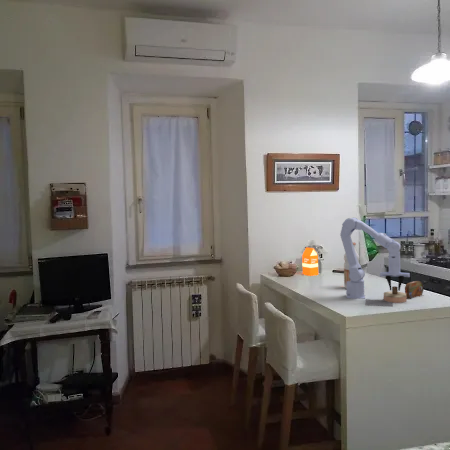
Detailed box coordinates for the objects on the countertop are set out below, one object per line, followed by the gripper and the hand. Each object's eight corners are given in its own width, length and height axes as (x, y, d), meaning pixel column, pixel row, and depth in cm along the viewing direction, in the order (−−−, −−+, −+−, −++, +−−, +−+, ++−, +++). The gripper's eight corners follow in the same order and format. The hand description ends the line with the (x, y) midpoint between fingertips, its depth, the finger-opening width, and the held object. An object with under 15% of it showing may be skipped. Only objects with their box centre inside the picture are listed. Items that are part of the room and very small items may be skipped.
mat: (365, 305, 204) (365, 305, 204) (365, 300, 217) (365, 299, 216) (392, 307, 200) (392, 306, 200) (392, 301, 212) (392, 300, 212)
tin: (409, 299, 214) (409, 284, 213) (403, 298, 216) (403, 283, 216) (424, 295, 223) (423, 280, 222) (418, 294, 225) (418, 279, 225)
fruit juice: (341, 288, 248) (340, 242, 247) (351, 286, 254) (350, 241, 252) (353, 290, 241) (352, 243, 239) (363, 288, 246) (362, 242, 244)
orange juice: (310, 275, 294) (309, 248, 293) (302, 274, 301) (301, 247, 301) (318, 274, 298) (317, 247, 297) (310, 273, 305) (309, 246, 304)
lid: (383, 296, 209) (383, 288, 209) (383, 292, 220) (383, 284, 219) (406, 298, 205) (406, 289, 205) (406, 293, 215) (405, 285, 215)
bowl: (384, 302, 210) (383, 296, 209) (383, 297, 220) (383, 292, 220) (407, 303, 206) (407, 297, 206) (405, 298, 216) (405, 293, 216)
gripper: (379, 265, 211) (380, 291, 211) (410, 266, 206) (410, 292, 206) (379, 263, 217) (380, 288, 218) (409, 263, 212) (409, 289, 213)
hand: (394, 290), depth 213 cm, fingers open, 3 cm apart
